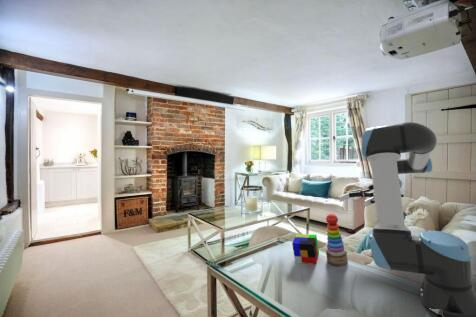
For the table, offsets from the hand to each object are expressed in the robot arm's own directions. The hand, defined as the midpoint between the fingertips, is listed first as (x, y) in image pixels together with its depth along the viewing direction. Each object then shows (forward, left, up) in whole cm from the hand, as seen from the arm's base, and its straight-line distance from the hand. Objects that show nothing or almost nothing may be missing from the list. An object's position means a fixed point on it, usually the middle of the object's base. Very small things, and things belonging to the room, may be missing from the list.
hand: (351, 201), depth 113 cm
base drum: (-2, +14, -25) cm, 29 cm away
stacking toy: (-2, +13, -22) cm, 25 cm away
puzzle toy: (+7, +24, -26) cm, 36 cm away
